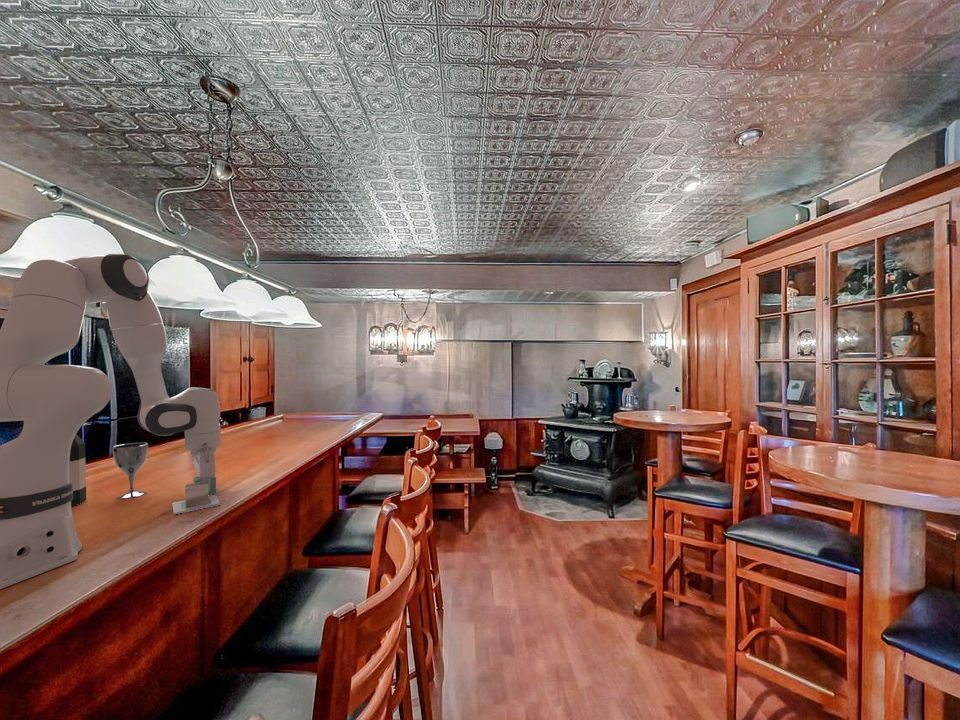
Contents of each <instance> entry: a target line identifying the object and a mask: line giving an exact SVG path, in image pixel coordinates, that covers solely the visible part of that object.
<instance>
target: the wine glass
mask: <svg viewBox="0 0 960 720" xmlns="http://www.w3.org/2000/svg"><path fill="white" fill-rule="evenodd" d="M148 452H149V443H148V442H145V441H144V442H143V441H142V442H139V441H138V442H131V443H123V444H118V445H114V446H112V457H113V461H114V464H115V466H116V467H117V468H118V469H119V470H121V471H122V472H123V473H124V474H126V476H127V478H128V482H129V491H128V492H126V493H123V494H120V495H117V496H118V497H117V496H116V497H117V498H118V499H117V500H128V499H127V498H129V499H134V497H135V498H139V497H141V496H144V495H147V494H148V491H147V490H134V481H135V476H136V474H137V472H138V471H139V470H140V469H141V467H142V466H144V464H145V462H146V461H147V457H148V454H149V453H148Z"/></svg>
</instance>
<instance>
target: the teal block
mask: <svg viewBox="0 0 960 720" xmlns="http://www.w3.org/2000/svg"><path fill="white" fill-rule="evenodd" d="M196 482H202V480H201V479H200V477H199V476H194V477H193V483H196ZM212 494H216V495H217V477H216V476H215V477H214V478H211V483H210V491H208V495H212Z"/></svg>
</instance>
